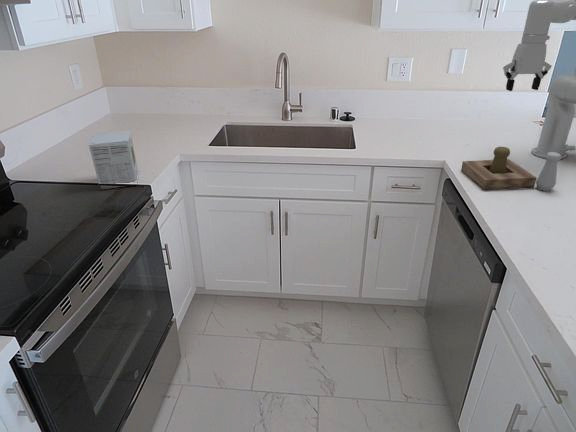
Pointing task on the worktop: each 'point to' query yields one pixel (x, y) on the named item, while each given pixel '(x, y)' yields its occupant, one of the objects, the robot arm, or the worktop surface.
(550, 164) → the salt shaker
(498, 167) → the olive pepper mill
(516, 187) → the walnut holder
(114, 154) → the supplement box
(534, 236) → the worktop surface
